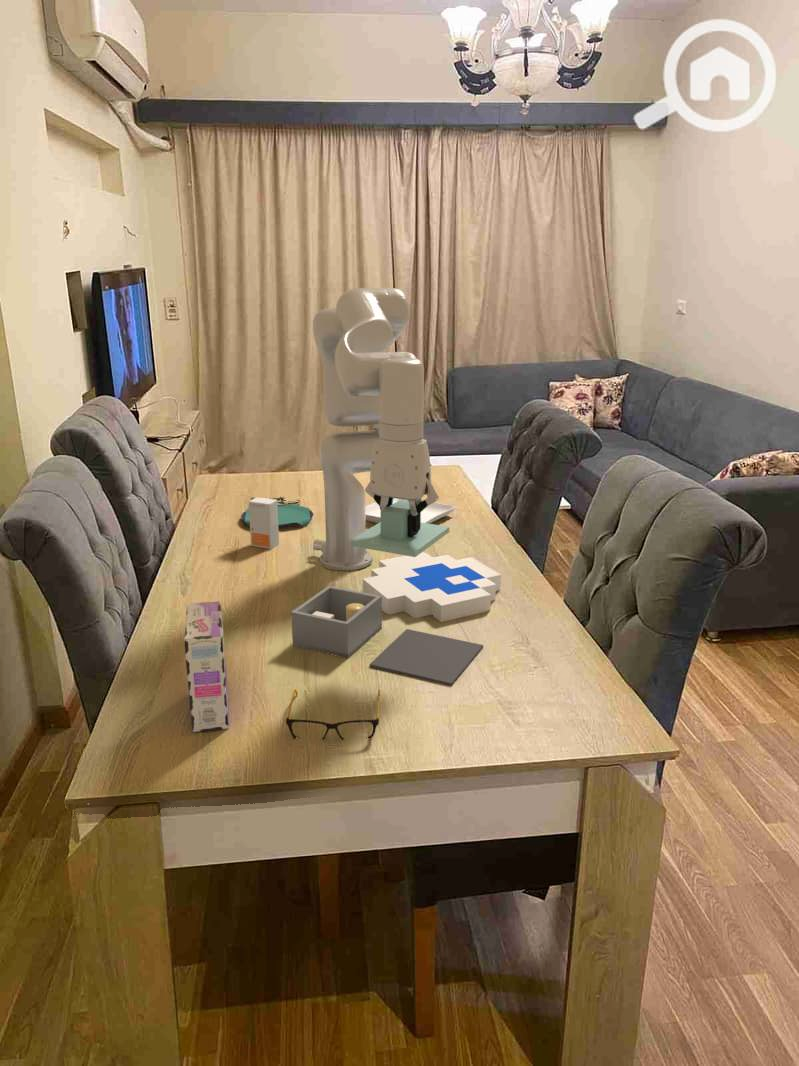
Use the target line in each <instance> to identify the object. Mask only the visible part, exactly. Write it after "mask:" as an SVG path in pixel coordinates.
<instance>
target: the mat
mask: <svg viewBox="0 0 799 1066" xmlns="http://www.w3.org/2000/svg"><path fill="white" fill-rule="evenodd" d="M483 648H484V645H483V644H481V643H477V642H475V643H474V642H470V641H466V640H461V639H456V638H451V637H447V636H442V635H438V634H433V633H429V632H423V631H418V630H413V629H409V628H406V629H405V630H404V631H403V632H401V634H399V636H398V637H396V638H395V640H393V641H392V643H390V644H389V645H388V646H387V647H386V648H385V649H384V650H383V651H382V652H380V653H379V655H378V656H376V657H375V658H374V659H373V661H371V662H370V663H369V668H370V667H371V668H374V669H378V670H383V671H386V672H392V673H395V674H400V675H404V676H407V677H412V678H417V679H421V680H425V681H430V682H434V683H436V684H437V683H438V684H441V685H442V684H443V685H446V686H450V687H452V686H453V685H454V684H455V683H456V681H457V680H458V679H459V678H460V677H461V675H462V674H463V673H464V672H465V670H466V669H467V668H468V666H470V665H471V663H472V662H473V660H474V659H475V658H476V657H477V656H478V654H479V653H480V652H481V651H482V649H483Z"/></svg>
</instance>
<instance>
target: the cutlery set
mask: <svg viewBox="0 0 799 1066" xmlns="http://www.w3.org/2000/svg"><path fill="white" fill-rule="evenodd" d="M284 497H285V496H280V497H273V498H272V497H270V498H269V497H267V498H268V499H285V498H286V497H285V498H284ZM255 498H256V497H250V501H251V500H253V499H255ZM283 501H286V500H279V501H277V508H278V528H287V527H292V526H297V525H301V526H302V528H305V527H307V526H308V525H309V524H310V522H311V520H312V519H313V517H314V512H313V510H311V509H310V508H309V507H306V506H303V505H301V504H300V502H301V500H300V499H299V500H297V501H299V502H298V503H297V502H295V501H293V503H295V504H291V503H292V502H287V503H288V504H283V503H285V502H283ZM240 517H241V520H242V521H243V522H244V523H245V525H247V526H248V527H250V515H249V508H246V509H245V511H244V512H243V513H242V514H241V515H240ZM304 526H305V527H304Z"/></svg>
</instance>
